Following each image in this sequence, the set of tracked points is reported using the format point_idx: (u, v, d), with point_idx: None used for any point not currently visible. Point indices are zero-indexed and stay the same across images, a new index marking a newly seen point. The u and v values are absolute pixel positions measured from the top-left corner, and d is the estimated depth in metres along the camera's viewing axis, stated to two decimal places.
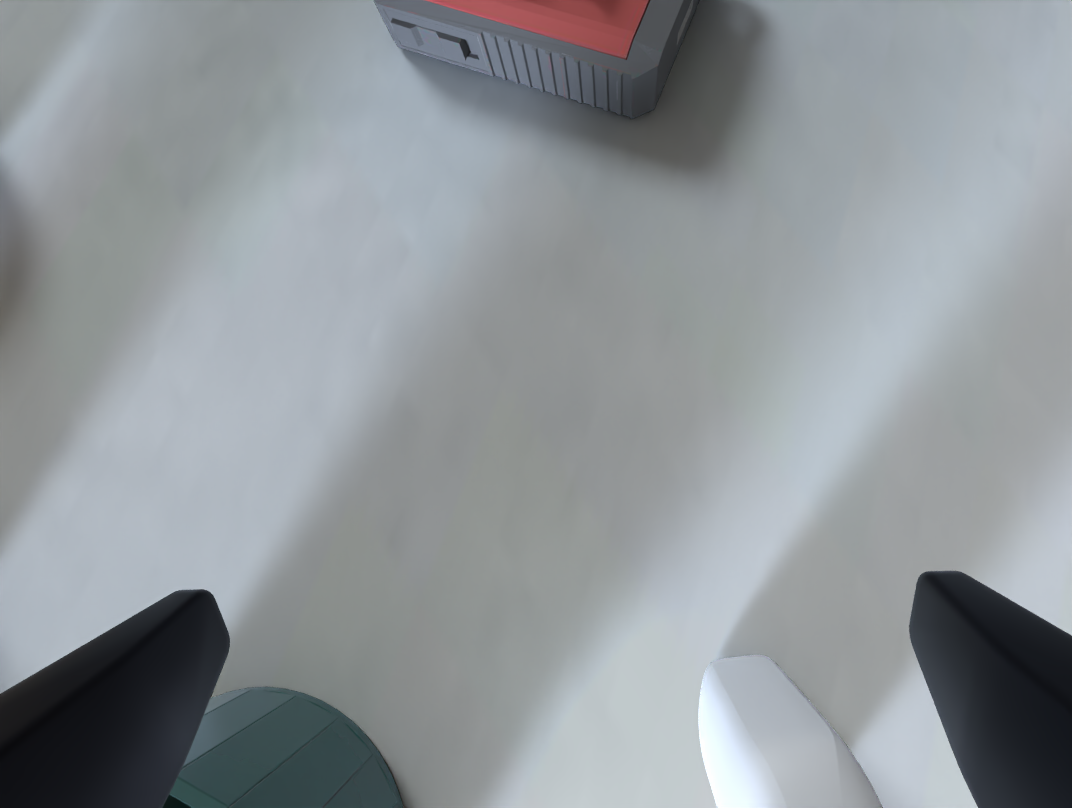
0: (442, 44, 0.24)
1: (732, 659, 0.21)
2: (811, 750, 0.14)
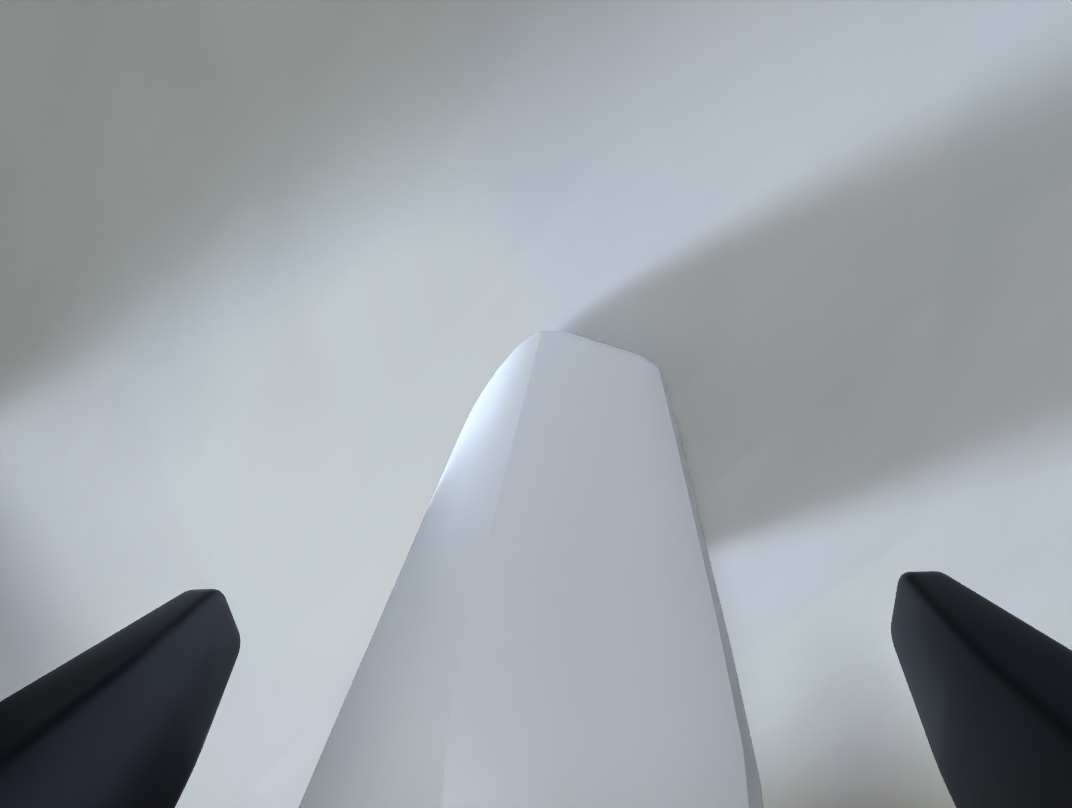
0: None
1: (585, 344, 0.09)
2: None
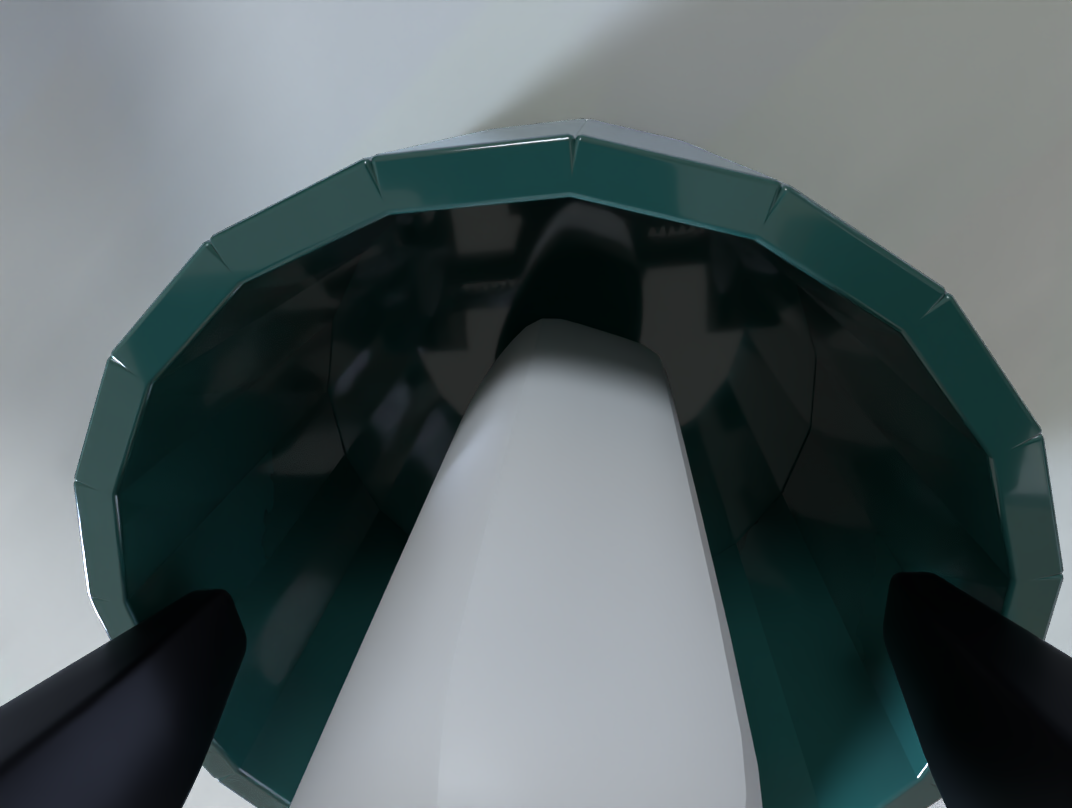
0: None
1: (586, 332, 0.09)
2: None
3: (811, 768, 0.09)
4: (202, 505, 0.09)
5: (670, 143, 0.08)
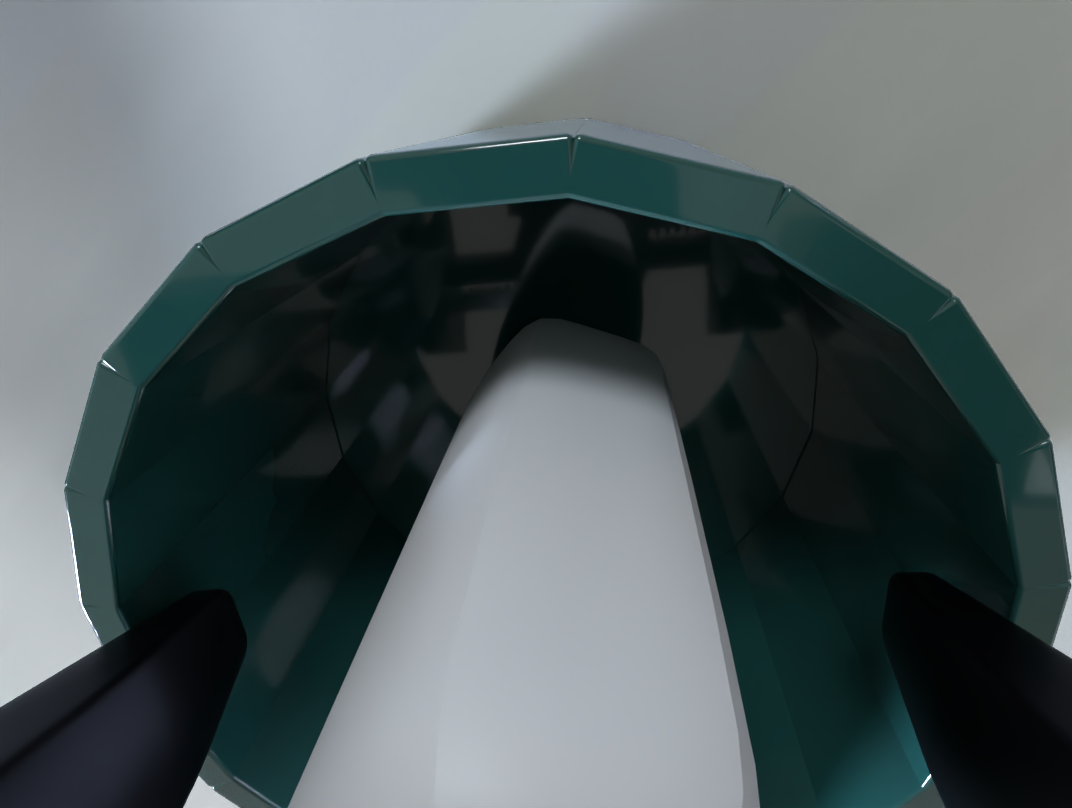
0: None
1: (585, 332, 0.09)
2: None
3: (814, 776, 0.09)
4: (196, 510, 0.09)
5: (670, 143, 0.08)
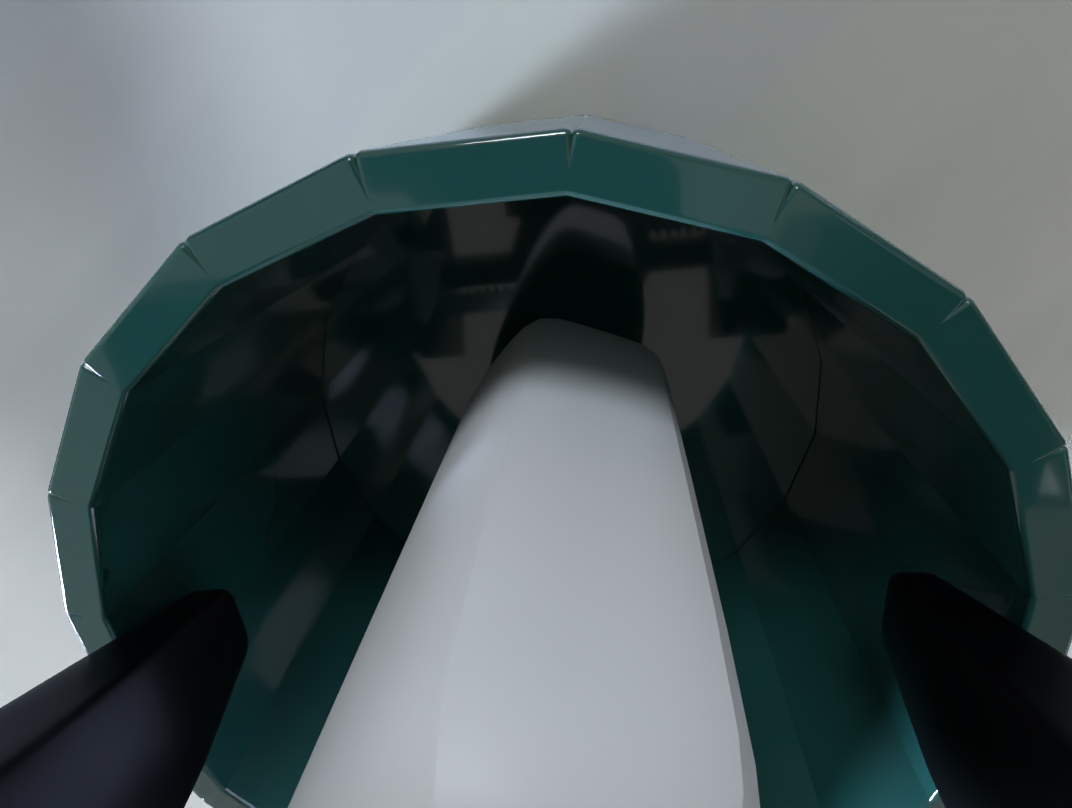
0: None
1: (585, 332, 0.09)
2: None
3: (818, 786, 0.09)
4: (187, 515, 0.09)
5: (672, 139, 0.08)
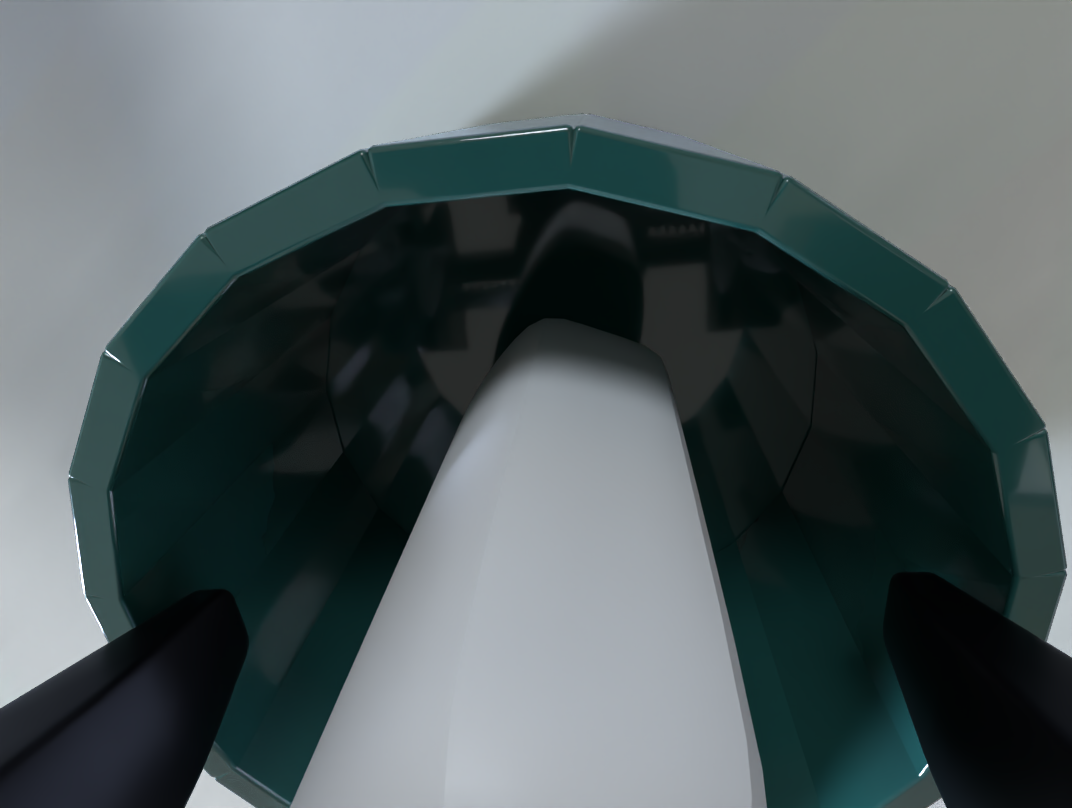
0: None
1: (588, 333, 0.09)
2: None
3: (812, 766, 0.09)
4: (199, 502, 0.09)
5: (670, 136, 0.08)
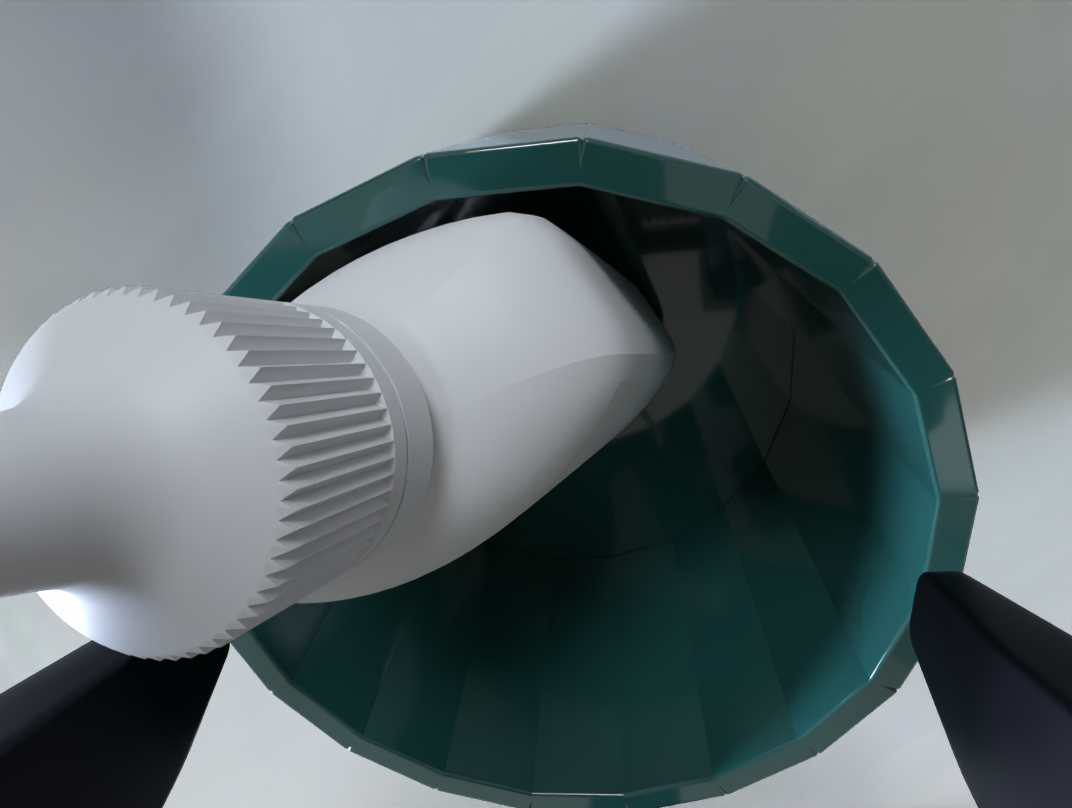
0: None
1: (646, 301, 0.13)
2: (575, 305, 0.06)
3: (784, 685, 0.11)
4: None
5: (660, 144, 0.09)
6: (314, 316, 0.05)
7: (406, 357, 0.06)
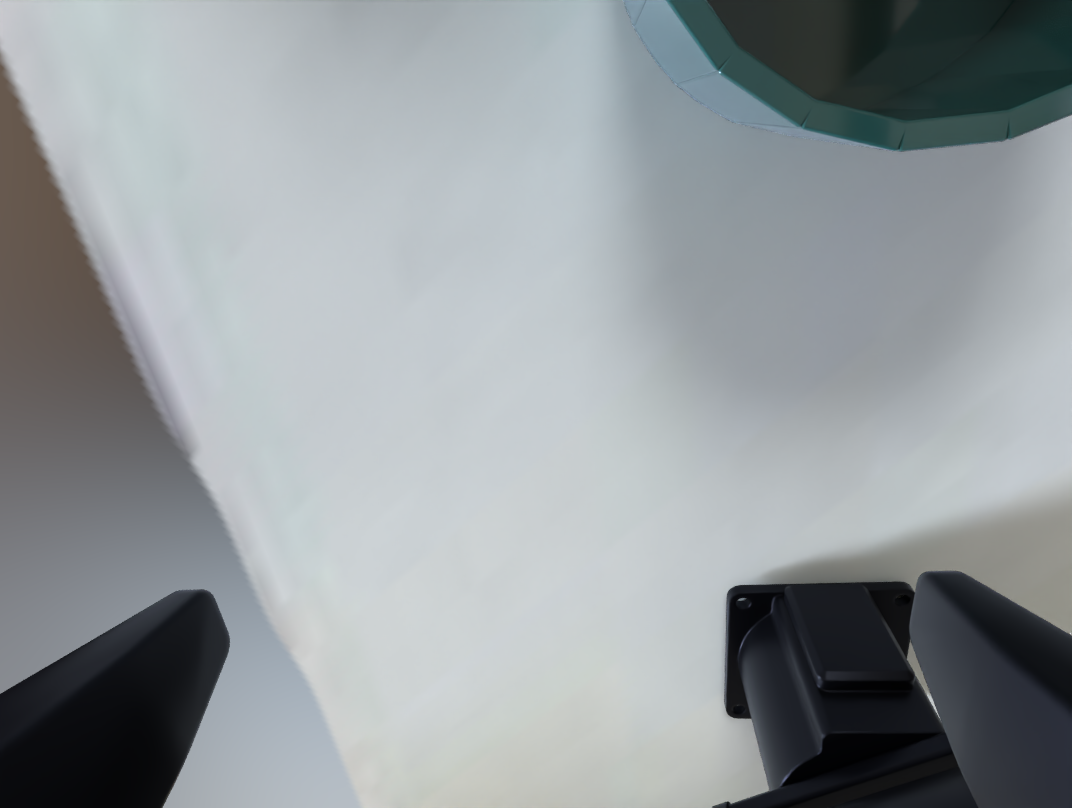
0: None
1: None
2: None
3: None
4: None
5: None
6: None
7: None
